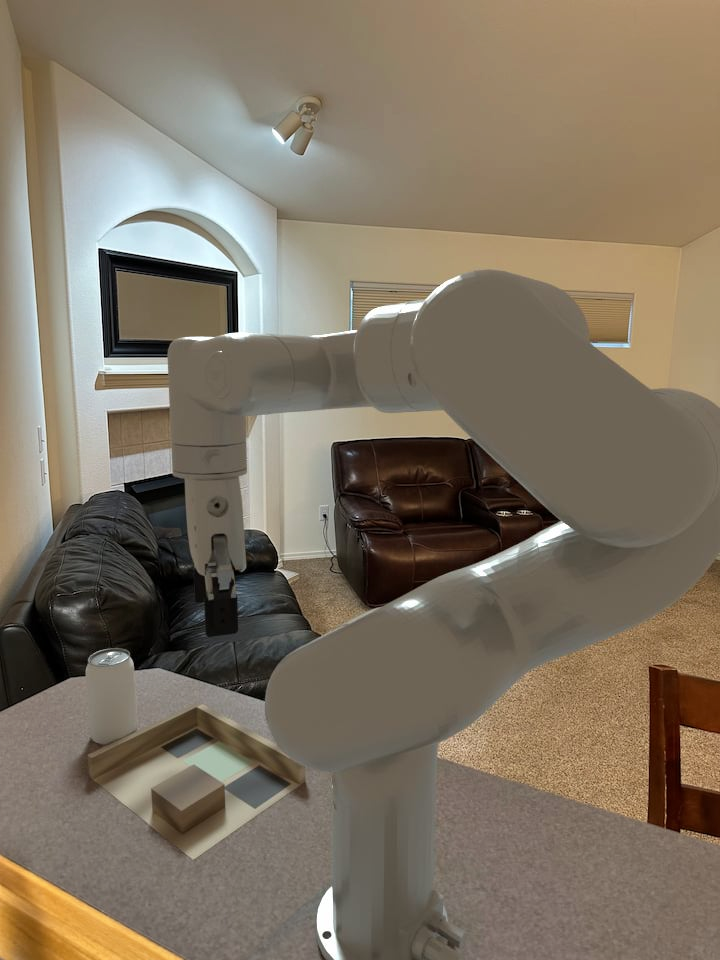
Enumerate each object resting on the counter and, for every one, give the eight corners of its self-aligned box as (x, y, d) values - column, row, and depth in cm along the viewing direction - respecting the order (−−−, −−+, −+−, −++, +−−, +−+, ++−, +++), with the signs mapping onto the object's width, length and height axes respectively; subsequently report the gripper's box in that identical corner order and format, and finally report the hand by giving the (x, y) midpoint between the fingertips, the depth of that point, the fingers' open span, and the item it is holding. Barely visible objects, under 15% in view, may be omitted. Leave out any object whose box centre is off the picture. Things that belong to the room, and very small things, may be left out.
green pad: (254, 764, 85) (254, 762, 85) (217, 786, 80) (217, 784, 80) (218, 743, 90) (218, 741, 89) (182, 763, 85) (182, 761, 85)
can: (145, 722, 96) (140, 647, 94) (125, 748, 90) (120, 668, 87) (104, 720, 97) (98, 645, 94) (81, 745, 90) (75, 665, 88)
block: (225, 806, 76) (224, 784, 76) (182, 834, 72) (181, 810, 71) (194, 785, 80) (193, 764, 79) (152, 811, 75) (151, 788, 75)
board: (305, 788, 81) (305, 759, 80) (193, 868, 68) (191, 834, 67) (199, 726, 95) (198, 701, 94) (89, 783, 82) (87, 754, 81)
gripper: (263, 471, 59) (266, 644, 62) (232, 447, 75) (236, 586, 78) (179, 475, 57) (187, 655, 60) (166, 450, 73) (172, 593, 76)
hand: (215, 616), depth 69 cm, fingers open, 9 cm apart
